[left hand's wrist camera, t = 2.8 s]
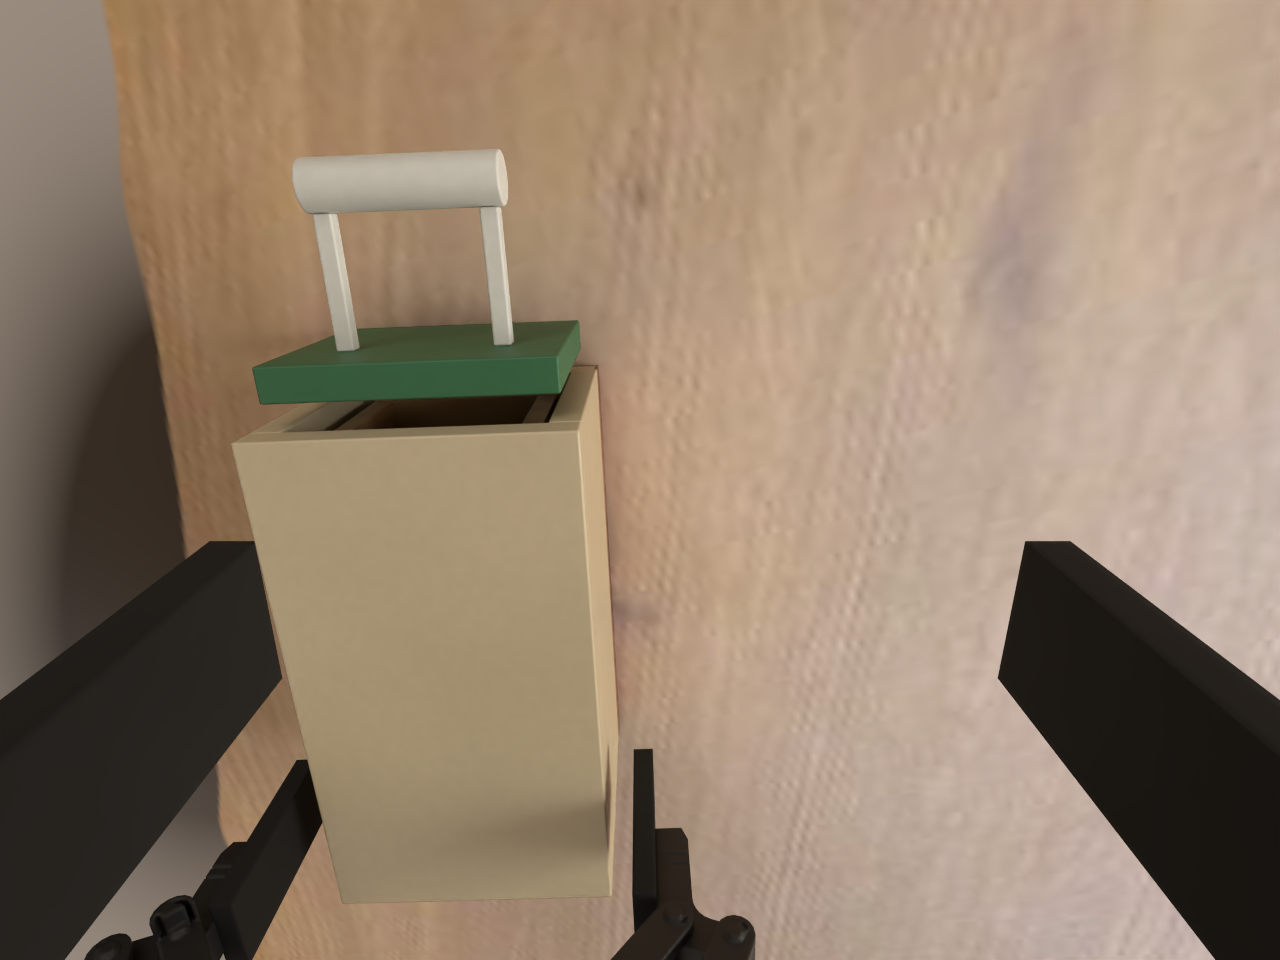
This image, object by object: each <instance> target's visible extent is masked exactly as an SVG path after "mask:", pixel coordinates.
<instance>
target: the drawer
mask: <svg viewBox="0 0 1280 960" xmlns="http://www.w3.org/2000/svg"><path fill="white" fill-rule="evenodd" d="M292 182H293V188H294V191H295V195H296V198H297V200H298V202H299V204H300V206H301V207H302V209H303V210H304V211H305V212H307V213H309V214H313V221H314V226H315V232H316V237H317V243H318V248H319V254H320V259H321V265H322V270H323V276H324V281H325V287H326V292H327V298H328V303H329V309H330V314H331V320H332V325H333V331H334V336H332V337H329V338H326V339H324V340H321V341H319V342H316V343H314V344H311V345H309V346H306V347H303V348H301V349H298V350H296V351H293V352H291V353H288V354H286V355H283V356H281V357H278V358H275V359H273V360H270V361H268V362H265V363H263V364H260V365H258V366H255V367H253V369H252V370H253V375H254V379H255V384H256V388H257V392H258V397H259V401H260V404H263V405H264V404H291V403H318V402H345V401H372V400H376V401H375V402H374V403H372V404H371V405H370V406H368V407H367V408H365V409H364V410H363V411H361V412H360V413H358V414H357V415H355V416H354V417H353V418H351V419H350V420H348V421H347V422H345V423H344V424H343V425H341V426H340V427H338V428H337V429H335V430H334V431H339V430H367V429H394V428H422V427H449V426H477V425H504V424H532V423H549V421H550V419H551V416H552V414H553V412H554V410H555V407H556V405H557V403H558V401H559V393H560V392H561V390H562V388H563V386H564V384H565V381H566V379H567V377H568V375H569V373H570V370H571V368H572V366H573V364H574V362H575V359H576V357H577V355H578V353H579V351H580V348H581V346H580V331H579V321H577V320H575V321H549V322H524V323H512V316H511V306H510V296H509V285H508V275H507V265H506V254H505V244H504V234H503V224H502V213H501V208H500V207H498V206H505V205H506V204H507V199H508V181H507V172H506V166H505V161H504V157H503V154H502V152H501V150H499V149H485V150H461V151H438V152H414V153H390V154H366V155H343V156H319V157H299V158H297V159H296V160H295V161H294V163H293V166H292ZM473 207H481V208H480V219H481V228H482V238H483V247H484V256H485V266H486V275H487V284H488V294H489V303H490V312H491V322H492V324H472V325H446V326H420V327H394V328H368V329H356V323H355V317H354V311H353V306H352V300H351V294H350V288H349V282H348V276H347V270H346V265H345V259H344V253H343V247H342V241H341V235H340V229H339V224H338V218H337V214H335V213H351V212H375V211H400V210H424V209H449V208H473Z"/></svg>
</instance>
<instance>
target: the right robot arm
mask: <svg viewBox="0 0 1280 960" xmlns="http://www.w3.org/2000/svg"><path fill="white" fill-rule="evenodd" d="M321 824H322V818H321V814H320V809H319V805H318V801H317V797H316V793H315V789H314V785H313V781H312V776H311V772H310V768H309V764H308V760H297V761H296V762H295V764H294V766H293V767H292V769H291V771H290V772H289V774H288V775H287V777H286V779H285V780H284V782H283V784H282V785H281V787H280V788H279V790H278V792H277V793H276V795H275V797H274V798H273V800H272V801H271V803H270V805H269V806H268V808H267V810H266V811H265V813H264V814H263V816H262V818H261V819H260V821H259V823H258V824H257V826H256V827H255V829H254V831H253V832H252V834H251V836H250V837H249V839H248V840H247V842H233V843H232V844H231V845H230V846H229V847H228V848H227V849H226V850H224V851H223V852H222V853H221V854H220V856H219V857H218V859H217V860H216V862H215V864H214V865H213V868H212V869H211V870H210V871H209V873H208V875H207V876H206V879H204V881H203V882H202V884H201V885H200V887H199V888H198V890H197V892H196V893H195V895H194V896H193V898H192V897H190V896H186V895H182V896H176V897H174V898H171V899H169V900H167V901H166V902H164V903H163V904H161V905H160V906H159V907H158V908H157V909H156V910H155V911H154V912H153V914H152V916H151V918H150V927H151V930H152V932H153V936H149V937H146V938H143V939H139V940H136V941H133V942H132V941H131V938H130V937H129V936H128V935H127V934H120V933H119V934H115V935H111V936H109V937H107V938H105V939H103V940H101V941H100V942H99V943H97V944H96V945H95V946H93V948H92V949H91V950H90V951H89V952H88V953H87V955H86V957H85V959H84V960H220V958H221V956H222V954H223V953H224V956H225V959H226V960H252V959H253V957H254V955H255V953H256V951H257V949H258V947H259V945H260V943H261V941H262V939H263V938H264V936H265V934H266V932H267V930H268V928H269V926H270V924H271V922H272V920H273V918H274V916H275V914H276V912H277V910H278V908H279V906H280V904H281V902H282V900H283V898H284V897H285V895H286V893H287V891H288V889H289V887H290V885H291V883H292V881H293V879H294V877H295V875H296V873H297V871H298V869H299V867H300V865H301V863H302V861H303V859H304V857H305V855H306V854H307V852H308V850H309V848H310V846H311V844H312V842H313V840H314V838H315V836H316V834H317V832H318V830H319V828H320V826H321ZM632 895H633V913H634V930H635V933H634V934H633V935H632V936H631V937H630V939H629V940H628V941H627V942H626V943H625V944H624V945H623V947H622V948H621V949H620V950H619V951H618V952H617V953H616V954H615V956H614V957H613V958H612V959H611V960H755V931H754V928H753V926H752V925H751V923H750V922H749V921H748V920H746V919H745V918H743V917H741V916H736V915H731V916H726V917H725V918H723V919H721V920H720V921H716V920H712V919H710V918H707V917H705V916H703V915H702V914H701V913H699V911H698V910H697V909H696V908H695V906H694V904H693V900H692V890H691V877H690V864H689V850H688V839H687V837H686V835H685V834H684V832H683V830H682V828H664V829H655V798H654V773H653V749H634V784H633V886H632Z"/></svg>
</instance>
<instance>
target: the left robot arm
mask: <svg viewBox="0 0 1280 960" xmlns="http://www.w3.org/2000/svg"><path fill="white" fill-rule="evenodd" d="M281 679H282V675H281V670H280V665H279V660H278V655H277V650H276V645H275V640H274V635H273V630H272V625H271V620H270V615H269V610H268V605H267V600H266V595H265V590H264V585H263V580H262V575H261V570H260V565H259V560H258V555H257V550H256V545H255V541H209V542H208V543H207V544H205V545H204V546H203V547H202V548H200V549H199V550H198V551H196V552H195V553H194V554H192V555H191V556H190V557H188V558H187V559H186V560H184V561H183V562H182V563H181V564H179V565H178V566H176V567H175V568H174V569H173V570H171V571H170V572H169V573H167V574H166V575H165V576H163V577H162V578H161V579H159V580H158V581H157V582H155V583H154V584H153V585H151V586H150V587H149V588H147V589H146V590H145V591H144V592H142V593H141V594H140V595H138V596H137V597H136V598H134V599H133V600H132V601H130V602H129V603H128V604H126V605H125V606H124V607H122V608H121V609H120V610H118V611H117V612H116V613H115V614H113V615H112V616H111V617H109V618H108V619H107V620H105V621H104V622H103V623H101V624H100V625H99V626H97V627H96V628H95V629H93V630H92V631H91V632H89V633H88V634H87V635H85V636H84V637H83V638H82V639H80V640H79V641H78V642H76V643H75V644H74V645H72V646H71V647H70V648H68V649H67V650H66V651H64V652H63V653H62V654H60V655H59V656H58V657H56V658H55V659H54V660H53V661H51V662H50V663H49V664H47V665H46V666H45V667H43V668H42V669H41V670H39V671H38V672H37V673H35V674H34V675H33V676H31V677H30V678H29V679H27V680H26V681H25V682H23V683H22V684H21V685H20V686H18V687H17V688H16V689H14V690H13V691H12V692H10V693H9V694H8V695H6V696H5V697H4V698H2V699H1V700H0V960H65V958H66V957H67V956H68V955H69V953H70V952H71V951H72V949H73V948H74V947H75V946H76V944H77V943H78V942H79V940H80V939H81V938H82V936H83V935H84V934H85V933H86V931H87V930H88V929H89V927H90V926H91V925H92V924H93V922H94V921H95V920H96V918H97V917H98V916H99V914H100V913H101V912H102V911H103V909H104V908H105V907H106V905H107V904H108V903H109V902H110V900H111V899H112V898H113V896H114V895H115V894H116V893H117V891H118V890H119V889H120V887H121V886H122V885H123V883H124V882H125V881H126V880H127V878H128V877H129V876H130V874H131V873H132V872H133V870H134V869H135V868H136V867H137V865H138V864H139V863H140V861H141V860H142V859H143V857H144V856H145V855H146V854H147V852H148V851H149V850H150V848H151V847H152V846H153V845H154V843H155V842H156V841H157V839H158V838H159V837H160V836H161V834H162V833H163V832H164V830H165V829H166V828H167V826H168V825H169V824H170V823H171V821H172V820H173V819H174V817H175V816H176V815H177V814H178V812H179V811H180V810H181V808H182V807H183V806H184V804H185V803H186V802H187V801H188V799H189V798H190V797H191V795H192V794H193V793H194V792H195V790H196V789H197V788H198V786H199V785H200V784H201V783H202V781H203V780H204V779H205V777H206V776H207V775H208V773H209V772H210V771H211V770H212V768H213V767H214V766H215V764H216V763H217V762H218V761H219V759H220V758H221V757H222V755H223V754H224V753H225V751H226V750H227V749H228V748H229V746H230V745H231V744H232V742H233V741H234V740H235V739H236V737H237V736H238V735H239V733H240V732H241V731H242V729H243V728H244V727H245V726H246V724H247V723H248V722H249V720H250V719H251V718H252V717H253V715H254V714H255V713H256V711H257V710H258V709H259V707H260V706H261V705H262V704H263V702H264V701H265V700H266V698H267V697H268V696H269V695H270V693H271V692H272V691H273V689H274V688H275V687H276V685H277V684H278V683H279V682H280V680H281ZM998 679H999V680H1000V682H1001V683H1002V684H1003V685H1004V687H1005V688H1006V689H1007V691H1008V692H1009V693H1010V695H1011V696H1012V697H1013V698H1014V700H1015V701H1016V702H1017V704H1018V705H1019V706H1020V707H1021V709H1022V710H1023V711H1024V713H1025V714H1026V715H1027V717H1028V718H1029V719H1030V720H1031V722H1032V723H1033V724H1034V726H1035V727H1036V728H1037V729H1038V731H1039V732H1040V733H1041V735H1042V736H1043V737H1044V739H1045V740H1046V741H1047V742H1048V744H1049V745H1050V746H1051V748H1052V749H1053V750H1054V751H1055V753H1056V754H1057V755H1058V757H1059V758H1060V759H1061V761H1062V762H1063V763H1064V764H1065V766H1066V767H1067V768H1068V770H1069V771H1070V772H1071V773H1072V775H1073V776H1074V777H1075V779H1076V780H1077V781H1078V783H1079V784H1080V785H1081V786H1082V788H1083V789H1084V790H1085V792H1086V793H1087V794H1088V795H1089V797H1090V798H1091V799H1092V801H1093V802H1094V803H1095V805H1096V806H1097V807H1098V808H1099V810H1100V811H1101V812H1102V814H1103V815H1104V816H1105V817H1106V819H1107V820H1108V821H1109V823H1110V824H1111V825H1112V827H1113V828H1114V829H1115V830H1116V832H1117V833H1118V834H1119V836H1120V837H1121V838H1122V839H1123V841H1124V842H1125V843H1126V845H1127V846H1128V847H1129V849H1130V850H1131V851H1132V852H1133V854H1134V855H1135V856H1136V858H1137V859H1138V860H1139V861H1140V863H1141V864H1142V865H1143V867H1144V868H1145V869H1146V871H1147V872H1148V873H1149V874H1150V876H1151V877H1152V878H1153V880H1154V881H1155V882H1156V883H1157V885H1158V886H1159V887H1160V889H1161V890H1162V891H1163V893H1164V894H1165V895H1166V896H1167V898H1168V899H1169V900H1170V902H1171V903H1172V904H1173V905H1174V907H1175V908H1176V909H1177V911H1178V912H1179V913H1180V915H1181V916H1182V917H1183V918H1184V920H1185V921H1186V922H1187V924H1188V925H1189V926H1190V927H1191V929H1192V930H1193V931H1194V933H1195V934H1196V935H1197V937H1198V938H1199V939H1200V940H1201V942H1202V943H1203V944H1204V946H1205V947H1206V948H1207V949H1208V951H1209V952H1210V953H1211V955H1212V956H1213V957H1214V959H1215V960H1280V700H1279V699H1278V698H1276V697H1275V696H1274V695H1272V694H1271V693H1270V692H1268V691H1267V690H1266V689H1264V688H1263V687H1262V686H1260V685H1259V684H1258V683H1257V682H1255V681H1254V680H1253V679H1251V678H1250V677H1249V676H1247V675H1246V674H1245V673H1243V672H1242V671H1241V670H1239V669H1238V668H1237V667H1235V666H1234V665H1233V664H1231V663H1230V662H1229V661H1227V660H1226V659H1225V658H1224V657H1222V656H1221V655H1220V654H1218V653H1217V652H1216V651H1214V650H1213V649H1212V648H1210V647H1209V646H1208V645H1206V644H1205V643H1204V642H1202V641H1201V640H1200V639H1198V638H1197V637H1196V636H1195V635H1193V634H1192V633H1191V632H1189V631H1188V630H1187V629H1185V628H1184V627H1183V626H1181V625H1180V624H1179V623H1177V622H1176V621H1175V620H1173V619H1172V618H1171V617H1169V616H1168V615H1167V614H1166V613H1164V612H1163V611H1162V610H1160V609H1159V608H1158V607H1156V606H1155V605H1154V604H1152V603H1151V602H1150V601H1148V600H1147V599H1146V598H1144V597H1143V596H1142V595H1140V594H1139V593H1138V592H1136V591H1135V590H1134V589H1133V588H1131V587H1130V586H1129V585H1127V584H1126V583H1125V582H1123V581H1122V580H1121V579H1119V578H1118V577H1117V576H1115V575H1114V574H1113V573H1111V572H1110V571H1109V570H1107V569H1106V568H1105V567H1104V566H1102V565H1101V564H1100V563H1098V562H1097V561H1096V560H1094V559H1093V558H1092V557H1090V556H1089V555H1088V554H1086V553H1085V552H1084V551H1082V550H1081V549H1080V548H1078V547H1077V546H1076V545H1075V544H1073V543H1072V542H1071V541H1025V545H1024V550H1023V555H1022V560H1021V565H1020V570H1019V575H1018V580H1017V585H1016V590H1015V595H1014V600H1013V605H1012V610H1011V615H1010V620H1009V625H1008V630H1007V635H1006V640H1005V645H1004V650H1003V655H1002V660H1001V665H1000V670H999V675H998Z"/></svg>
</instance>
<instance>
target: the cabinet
mask: <svg viewBox="0 0 1280 960" xmlns="http://www.w3.org/2000/svg"><path fill="white" fill-rule="evenodd" d="M375 401H376V400H372V401H345V402H318V403H303V404H301V405H299V406H297V407H296V408H294V409H292V410H290V411H288V412H287V413H285V414H283V415H281V416H279V417H278V418H276V419H274V420H272V421H270V422H269V423H267V424H265V425H263V426H261V427H260V428H258V429H256V430H254V431H252V432H251V433H249V434H247V435H246V436H244V437H242V438H240V439H238V440H237V441H235V442H233V443H232V444H231V447H232V451H233V455H234V460H235V464H236V468H237V472H238V476H239V480H240V484H241V488H242V493H243V497H244V501H245V505H246V509H247V513H248V517H249V521H250V525H251V530H252V534H253V538H254V541H255V545H256V550H257V554H258V558H259V562H260V567H261V571H262V575H263V579H264V583H265V587H266V591H267V595H268V600H269V604H270V608H271V612H272V616H273V620H274V624H275V628H276V632H277V637H278V641H279V645H280V649H281V653H282V657H283V661H284V665H285V669H286V674H287V678H288V682H289V686H290V690H291V694H292V698H293V702H294V707H295V711H296V715H297V719H298V723H299V727H300V731H301V735H302V739H303V744H304V748H305V752H306V756H307V760H308V764H309V768H310V772H311V776H312V781H313V785H314V789H315V793H316V797H317V801H318V805H319V809H320V814H321V818H322V822H323V826H324V830H325V834H326V838H327V842H328V846H329V851H330V855H331V859H332V863H333V867H334V871H335V875H336V879H337V883H338V888H339V892H340V896H341V900H342V903H343V904H359V903H397V902H434V901H471V900H509V899H546V898H583V897H610V896H611V895H612V876H613V873H612V871H613V854H614V831H615V808H616V785H617V762H618V740H619V713H618V696H617V679H616V662H615V645H614V628H613V611H612V593H611V576H610V559H609V542H608V525H607V508H606V491H605V473H604V456H603V439H602V422H601V405H600V388H599V371H598V365H596V366H577V367H572V368H571V370H570V373H569V375H568V377H567V379H566V381H565V384H564V386H563V388H562V390H561V392H560V393H559V401H558V403H557V405H556V407H555V410H554V412H553V414H552V416H551V419H550V421H549V423H532V424H504V425H477V426H449V427H422V428H394V429H367V430H339V431H334V430H335V429H337V428H338V427H340V426H341V425H343V424H344V423H345V422H347V421H348V420H350V419H351V418H353V417H354V416H355V415H357V414H358V413H360V412H361V411H363V410H364V409H365V408H367V407H368V406H370V405H371V404H372V403H374V402H375Z"/></svg>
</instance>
